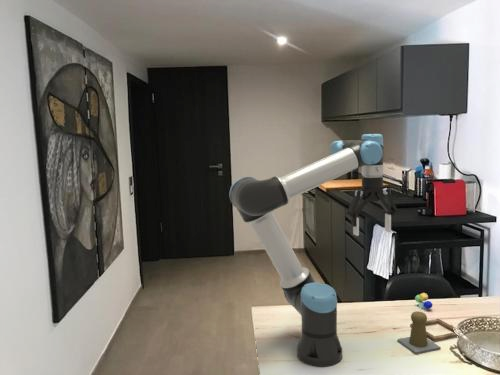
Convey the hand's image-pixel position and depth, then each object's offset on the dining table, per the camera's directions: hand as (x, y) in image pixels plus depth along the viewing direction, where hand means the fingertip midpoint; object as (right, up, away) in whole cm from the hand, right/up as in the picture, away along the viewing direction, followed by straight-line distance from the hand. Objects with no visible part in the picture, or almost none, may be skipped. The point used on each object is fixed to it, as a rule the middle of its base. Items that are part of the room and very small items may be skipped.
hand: (372, 233), depth 163 cm
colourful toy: (+27, -34, +21) cm, 48 cm away
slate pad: (+13, -38, -10) cm, 41 cm away
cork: (+13, -37, -11) cm, 41 cm away
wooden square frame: (+24, -36, -1) cm, 43 cm away
